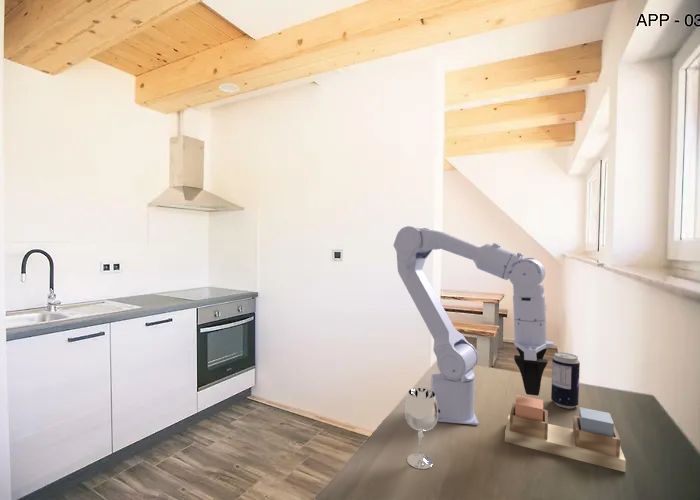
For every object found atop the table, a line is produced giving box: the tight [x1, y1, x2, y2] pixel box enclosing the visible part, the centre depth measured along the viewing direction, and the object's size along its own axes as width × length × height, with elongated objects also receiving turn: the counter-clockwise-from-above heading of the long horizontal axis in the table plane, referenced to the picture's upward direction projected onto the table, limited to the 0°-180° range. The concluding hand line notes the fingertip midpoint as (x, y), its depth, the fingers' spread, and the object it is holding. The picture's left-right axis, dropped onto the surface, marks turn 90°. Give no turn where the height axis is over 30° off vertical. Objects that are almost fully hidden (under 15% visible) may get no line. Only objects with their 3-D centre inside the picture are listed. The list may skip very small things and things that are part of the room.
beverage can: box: [550, 352, 581, 410], centre depth 89 cm, size 6×6×12 cm
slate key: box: [578, 406, 615, 437], centre depth 68 cm, size 5×5×3 cm
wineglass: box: [404, 387, 438, 470], centre depth 64 cm, size 6×6×12 cm
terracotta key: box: [514, 394, 544, 422], centre depth 73 cm, size 5×5×3 cm
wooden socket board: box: [504, 402, 627, 473], centre depth 71 cm, size 19×8×5 cm, turn 62°
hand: (532, 387), depth 73 cm, fingers open, 7 cm apart
